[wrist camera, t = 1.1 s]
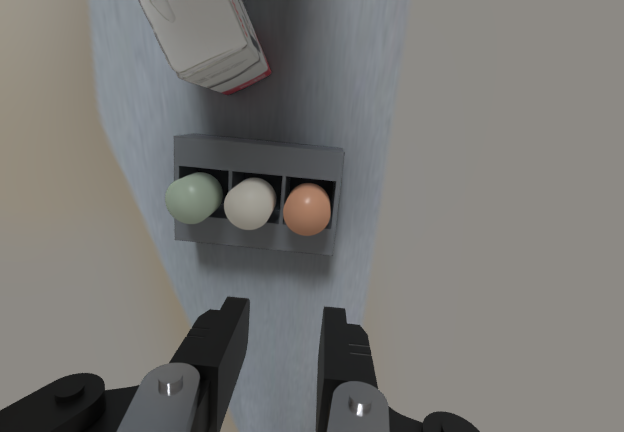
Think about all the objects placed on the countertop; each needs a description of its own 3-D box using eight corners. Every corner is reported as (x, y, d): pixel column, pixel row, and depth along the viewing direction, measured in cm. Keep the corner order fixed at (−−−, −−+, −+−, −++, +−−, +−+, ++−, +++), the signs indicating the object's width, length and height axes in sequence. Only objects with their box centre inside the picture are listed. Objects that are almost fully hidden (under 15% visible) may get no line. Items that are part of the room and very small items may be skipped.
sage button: (180, 170, 29) (164, 175, 27) (223, 174, 29) (212, 180, 27) (180, 211, 30) (165, 221, 28) (222, 216, 30) (211, 226, 27)
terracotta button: (288, 180, 29) (284, 187, 26) (332, 185, 29) (333, 192, 26) (285, 222, 30) (281, 233, 27) (327, 226, 30) (327, 238, 27)
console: (193, 133, 33) (173, 135, 29) (342, 148, 33) (344, 152, 29) (193, 225, 36) (174, 239, 31) (331, 239, 36) (332, 255, 31)
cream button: (234, 175, 29) (224, 181, 26) (277, 179, 29) (272, 186, 26) (233, 217, 30) (223, 227, 27) (275, 221, 30) (269, 232, 27)
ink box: (277, 73, 32) (249, 48, 20) (226, 97, 32) (172, 84, 21) (234, -28, 30) (177, -121, 18) (181, -2, 30) (95, -74, 19)
